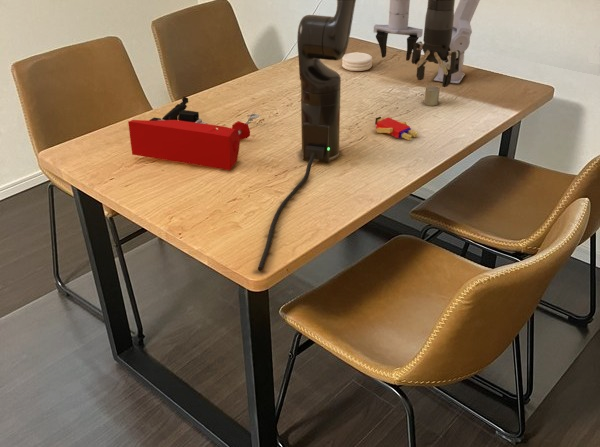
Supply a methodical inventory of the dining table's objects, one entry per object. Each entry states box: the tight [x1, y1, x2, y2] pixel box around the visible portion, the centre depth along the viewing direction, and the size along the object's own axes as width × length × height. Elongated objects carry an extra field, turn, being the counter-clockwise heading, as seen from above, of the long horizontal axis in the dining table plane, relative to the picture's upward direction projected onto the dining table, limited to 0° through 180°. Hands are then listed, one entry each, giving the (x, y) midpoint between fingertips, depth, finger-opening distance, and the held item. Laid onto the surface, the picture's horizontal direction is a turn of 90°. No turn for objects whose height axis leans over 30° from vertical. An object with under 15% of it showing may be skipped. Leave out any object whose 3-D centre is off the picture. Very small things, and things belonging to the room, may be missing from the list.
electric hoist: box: [127, 96, 260, 171], centre depth 159 cm, size 10×27×30 cm
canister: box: [423, 85, 441, 107], centre depth 179 cm, size 4×4×4 cm
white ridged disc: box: [341, 52, 373, 72], centre depth 207 cm, size 10×10×4 cm
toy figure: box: [374, 116, 418, 141], centre depth 162 cm, size 2×7×12 cm
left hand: (432, 82), depth 177 cm, fingers open, 8 cm apart
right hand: (395, 58), depth 189 cm, fingers open, 7 cm apart
